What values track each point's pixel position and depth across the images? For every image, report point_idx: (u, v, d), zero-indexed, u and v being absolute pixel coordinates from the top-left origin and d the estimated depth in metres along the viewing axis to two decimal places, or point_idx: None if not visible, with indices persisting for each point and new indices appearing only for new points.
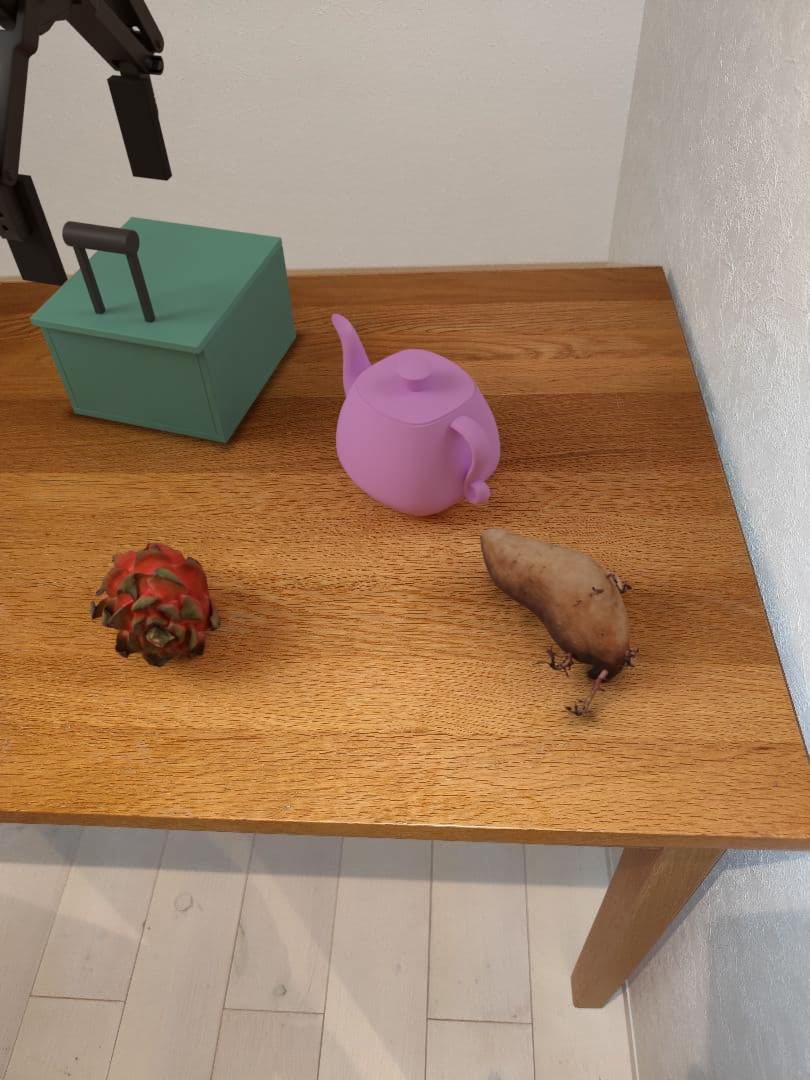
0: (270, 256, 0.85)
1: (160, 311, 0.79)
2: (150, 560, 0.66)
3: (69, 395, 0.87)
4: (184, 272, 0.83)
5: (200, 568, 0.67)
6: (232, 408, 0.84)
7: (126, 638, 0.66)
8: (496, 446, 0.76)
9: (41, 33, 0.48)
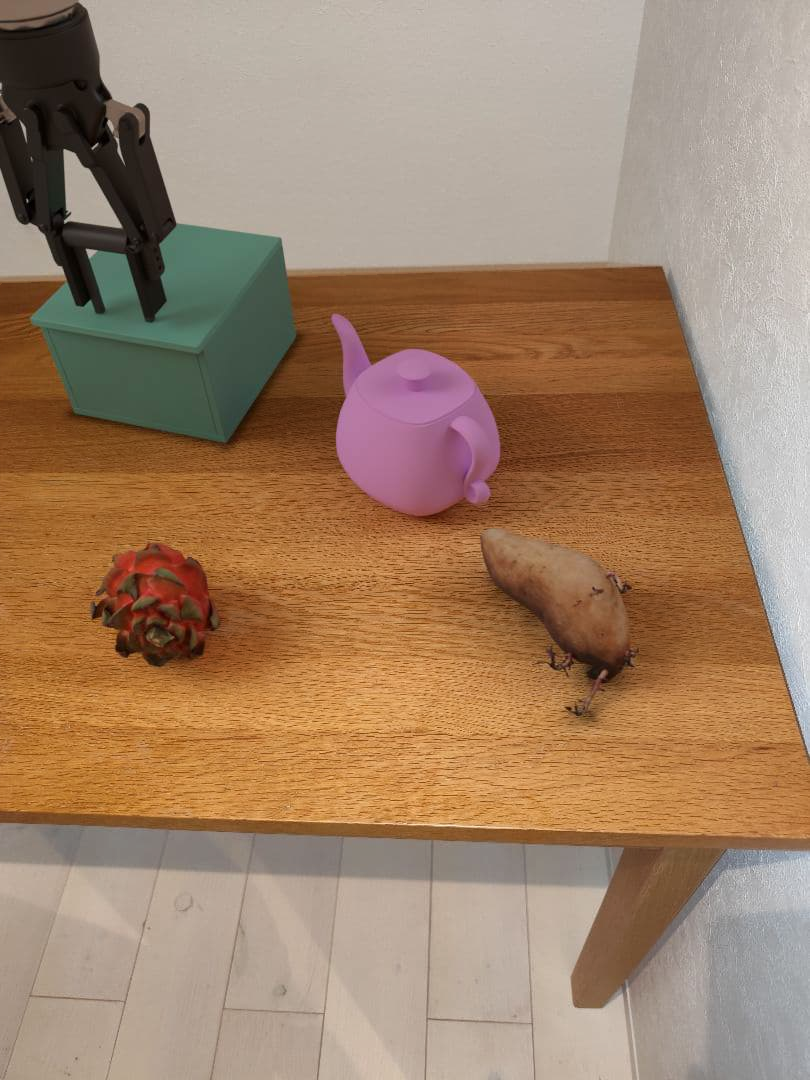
0: (270, 256, 0.85)
1: (160, 311, 0.79)
2: (150, 560, 0.66)
3: (69, 395, 0.87)
4: (184, 272, 0.83)
5: (200, 568, 0.67)
6: (232, 408, 0.84)
7: (126, 638, 0.66)
8: (496, 446, 0.76)
9: None
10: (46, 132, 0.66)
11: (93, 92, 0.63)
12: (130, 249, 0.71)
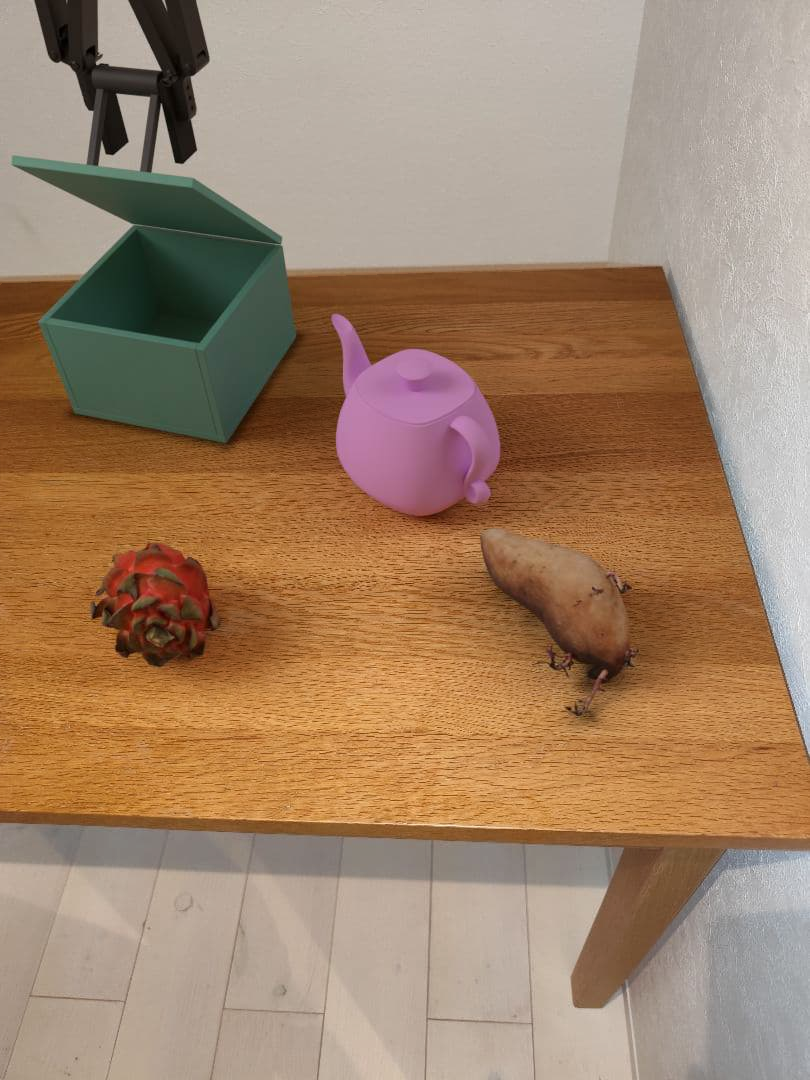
0: (270, 232, 0.84)
1: None
2: (150, 560, 0.66)
3: (69, 395, 0.87)
4: None
5: (200, 568, 0.67)
6: (232, 408, 0.84)
7: (126, 638, 0.66)
8: (496, 446, 0.76)
9: None
10: None
11: None
12: (163, 82, 0.70)
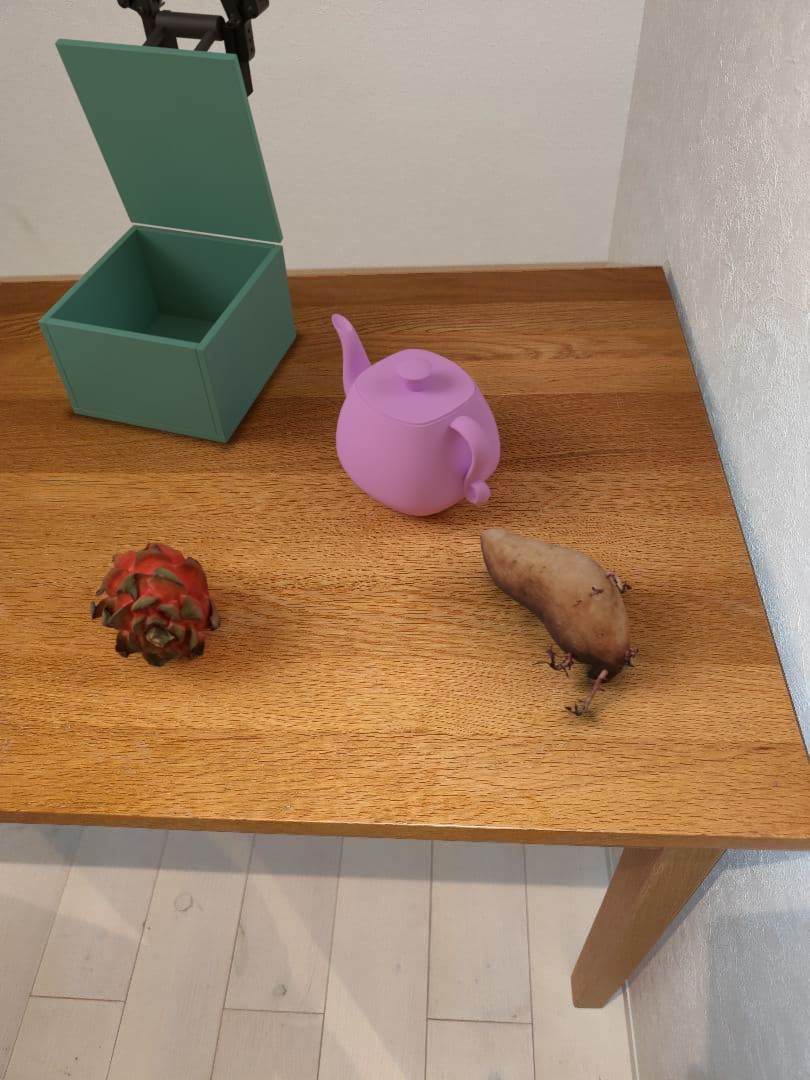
0: (275, 215, 0.85)
1: None
2: (150, 560, 0.66)
3: (69, 395, 0.87)
4: None
5: (200, 568, 0.67)
6: (232, 408, 0.84)
7: (126, 638, 0.66)
8: (496, 446, 0.76)
9: None
10: None
11: None
12: (228, 25, 0.77)
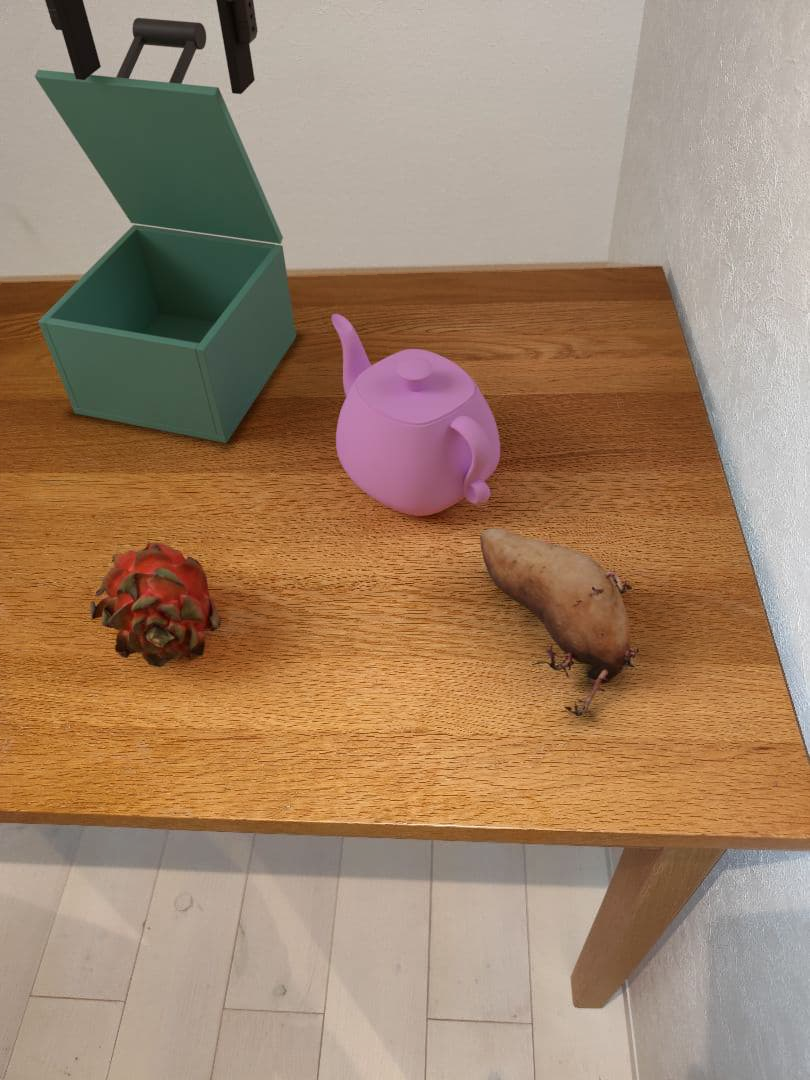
0: (273, 220, 0.85)
1: None
2: (150, 560, 0.66)
3: (69, 395, 0.87)
4: None
5: (200, 568, 0.67)
6: (232, 408, 0.84)
7: (126, 638, 0.66)
8: (496, 446, 0.76)
9: None
10: None
11: None
12: None
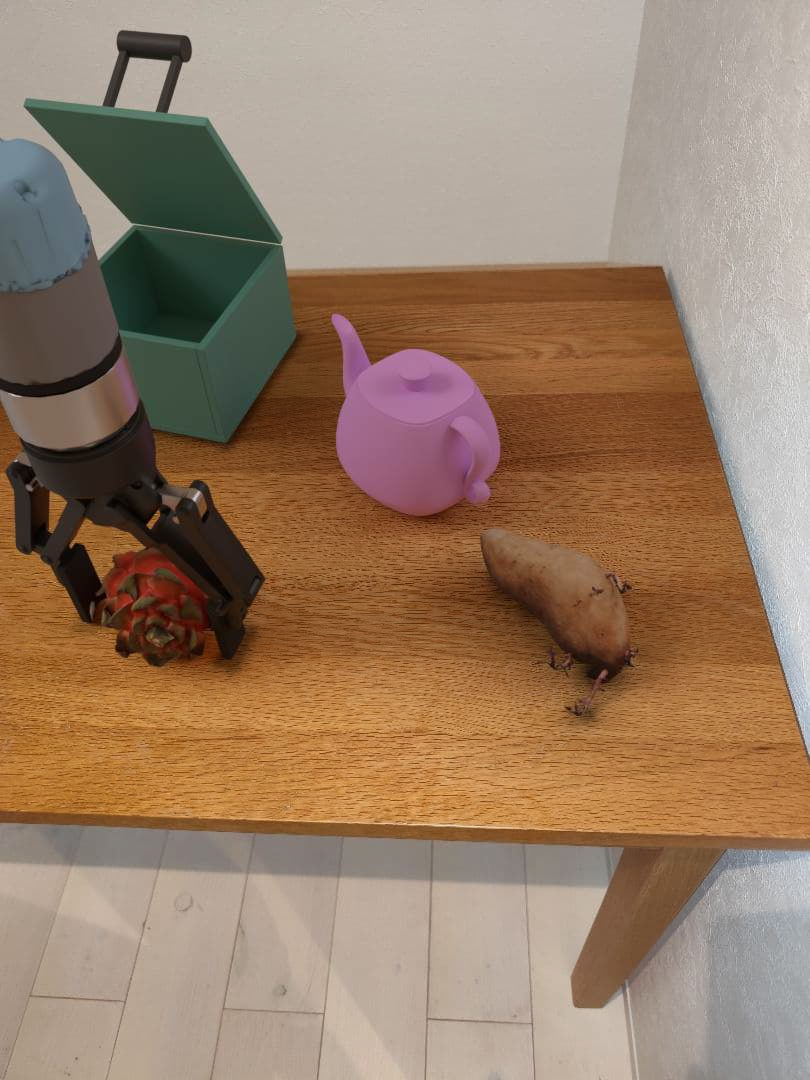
0: (272, 224, 0.84)
1: None
2: (150, 560, 0.66)
3: None
4: None
5: None
6: (232, 408, 0.84)
7: (126, 638, 0.66)
8: (496, 446, 0.76)
9: None
10: (93, 512, 0.59)
11: (149, 489, 0.56)
12: (215, 613, 0.62)
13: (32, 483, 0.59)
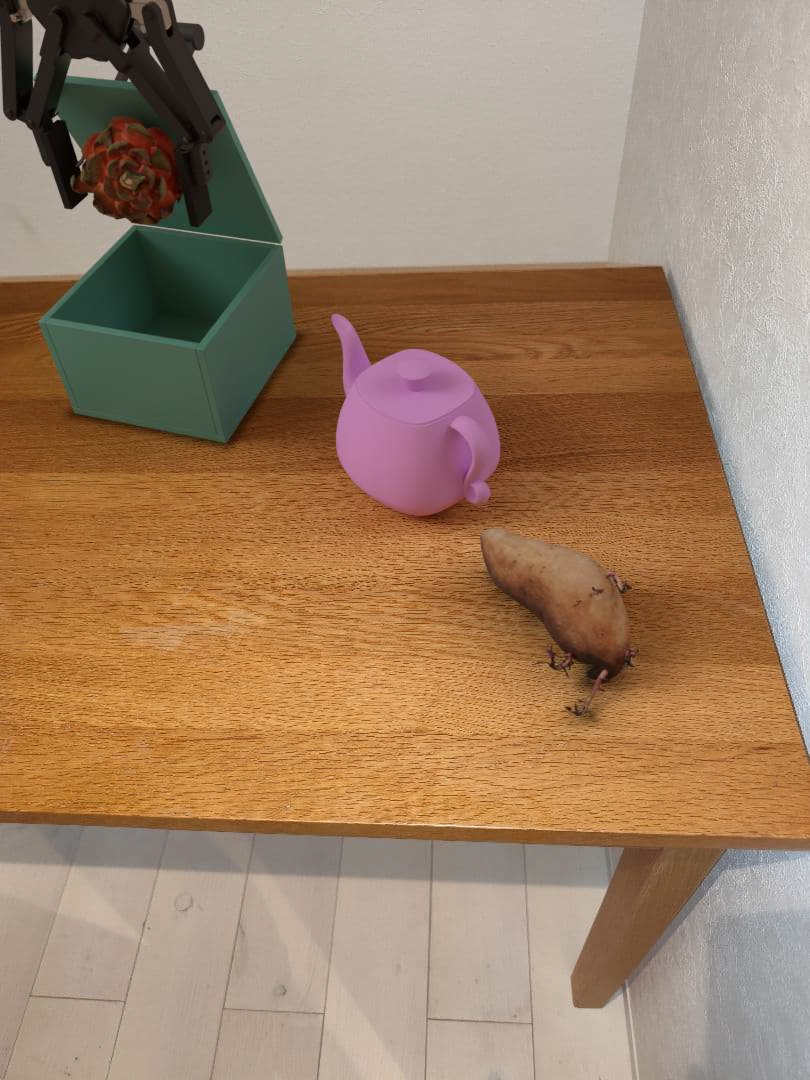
0: (273, 220, 0.84)
1: None
2: (124, 123, 0.72)
3: (69, 395, 0.87)
4: None
5: (170, 138, 0.74)
6: (232, 408, 0.84)
7: (103, 195, 0.73)
8: (496, 446, 0.76)
9: None
10: (70, 39, 0.66)
11: None
12: (181, 150, 0.69)
13: (16, 13, 0.66)
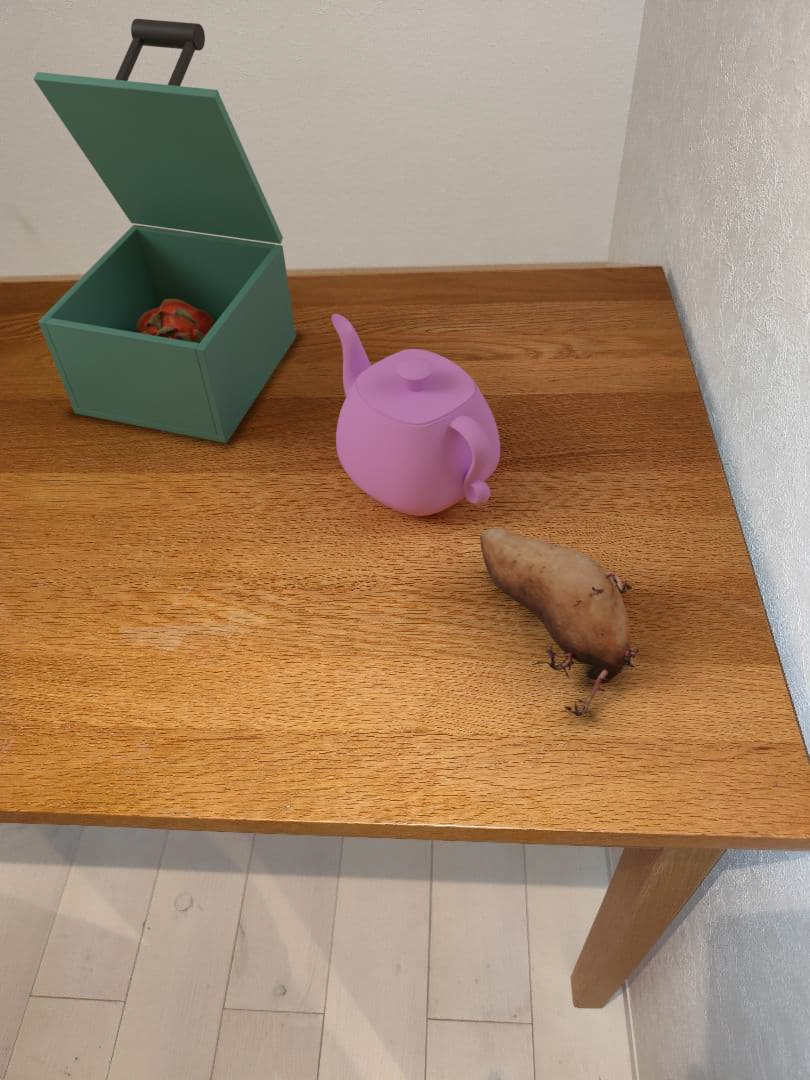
0: (273, 220, 0.84)
1: None
2: (173, 305, 0.86)
3: (69, 395, 0.87)
4: None
5: (210, 317, 0.87)
6: (232, 408, 0.84)
7: None
8: (496, 446, 0.76)
9: None
10: None
11: None
12: None
13: None
